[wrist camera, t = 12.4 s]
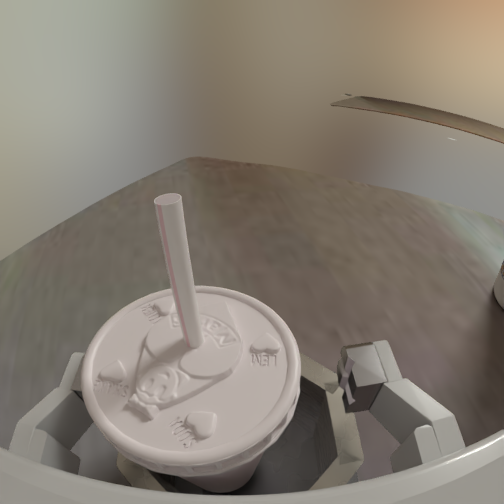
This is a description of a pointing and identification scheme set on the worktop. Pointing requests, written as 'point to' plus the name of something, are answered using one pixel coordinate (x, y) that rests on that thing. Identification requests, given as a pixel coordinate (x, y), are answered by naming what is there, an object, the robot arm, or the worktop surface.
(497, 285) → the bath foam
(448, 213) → the worktop surface
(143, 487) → the octagonal cup holder
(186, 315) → the smoothie
